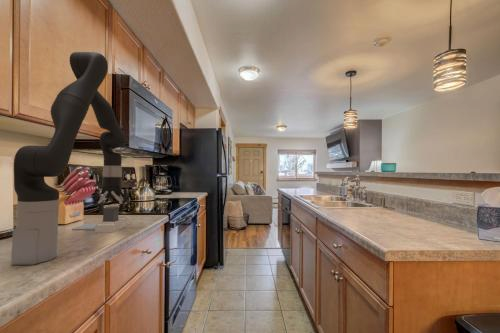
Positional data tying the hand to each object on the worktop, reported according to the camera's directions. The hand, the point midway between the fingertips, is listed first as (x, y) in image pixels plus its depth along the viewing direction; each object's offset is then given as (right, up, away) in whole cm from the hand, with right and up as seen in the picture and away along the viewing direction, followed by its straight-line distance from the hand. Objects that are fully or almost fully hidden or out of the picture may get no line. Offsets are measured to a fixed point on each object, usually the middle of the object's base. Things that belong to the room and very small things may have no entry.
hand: (111, 211), depth 108 cm
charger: (0, -5, 0) cm, 5 cm away
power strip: (0, -8, +3) cm, 8 cm away
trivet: (-11, -8, +2) cm, 13 cm away
